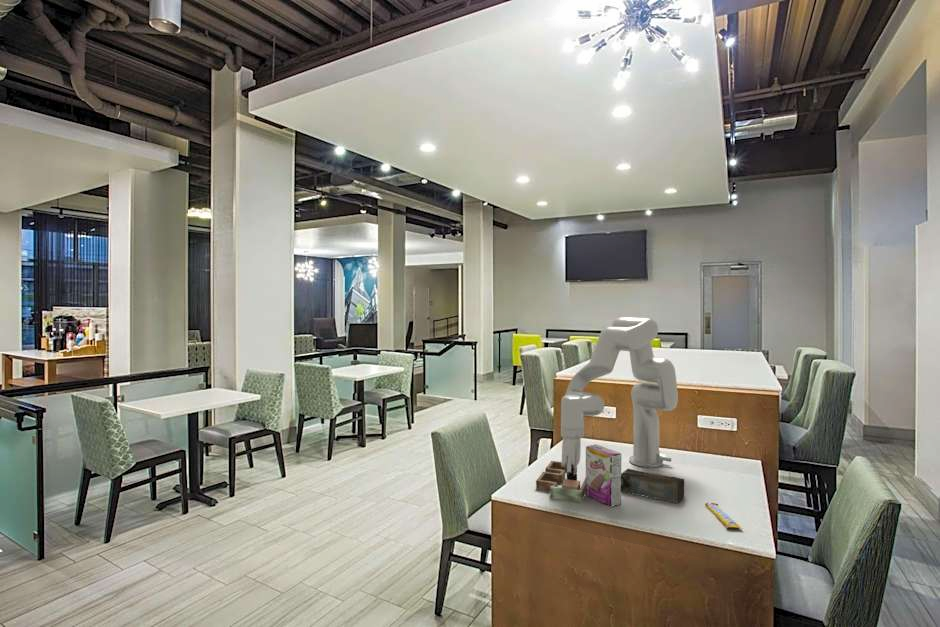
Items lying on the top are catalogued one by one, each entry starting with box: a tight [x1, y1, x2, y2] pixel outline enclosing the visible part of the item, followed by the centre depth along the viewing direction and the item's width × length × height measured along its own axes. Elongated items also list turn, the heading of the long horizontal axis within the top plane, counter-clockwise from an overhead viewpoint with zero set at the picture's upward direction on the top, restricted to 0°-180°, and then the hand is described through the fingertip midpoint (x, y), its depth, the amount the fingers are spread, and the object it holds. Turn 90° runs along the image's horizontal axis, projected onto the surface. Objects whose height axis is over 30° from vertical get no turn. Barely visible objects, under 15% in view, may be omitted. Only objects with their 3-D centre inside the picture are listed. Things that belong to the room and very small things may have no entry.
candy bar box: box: [585, 444, 622, 507], centre depth 159 cm, size 11×5×16 cm, turn 32°
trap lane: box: [535, 460, 586, 503], centre depth 177 cm, size 16×38×4 cm, turn 158°
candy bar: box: [704, 502, 743, 530], centre depth 146 cm, size 17×4×2 cm, turn 175°
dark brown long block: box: [621, 468, 685, 504], centre depth 164 cm, size 8×19×7 cm, turn 55°
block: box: [561, 478, 581, 490], centre depth 164 cm, size 5×6×4 cm
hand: (571, 485), depth 169 cm, fingers closed
